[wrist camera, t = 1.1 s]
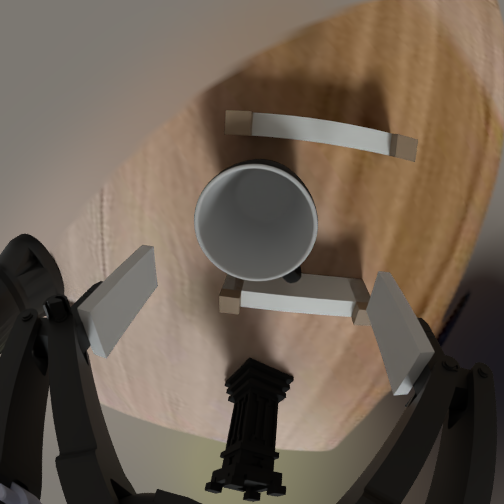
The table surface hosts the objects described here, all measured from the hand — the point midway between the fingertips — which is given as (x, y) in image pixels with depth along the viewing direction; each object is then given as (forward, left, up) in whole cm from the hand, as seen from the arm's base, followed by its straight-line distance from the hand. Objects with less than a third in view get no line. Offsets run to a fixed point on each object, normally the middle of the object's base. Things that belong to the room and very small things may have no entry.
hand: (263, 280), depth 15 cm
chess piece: (+1, -28, -15) cm, 32 cm away
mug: (0, 0, -15) cm, 15 cm away
